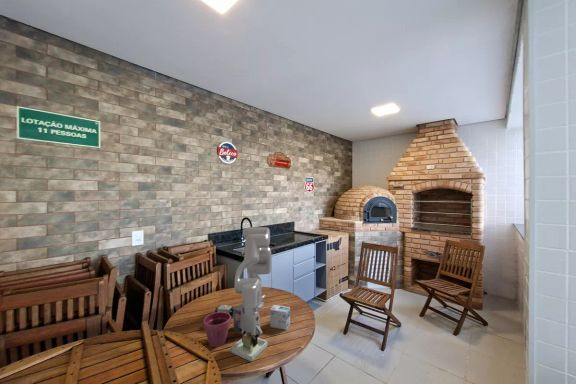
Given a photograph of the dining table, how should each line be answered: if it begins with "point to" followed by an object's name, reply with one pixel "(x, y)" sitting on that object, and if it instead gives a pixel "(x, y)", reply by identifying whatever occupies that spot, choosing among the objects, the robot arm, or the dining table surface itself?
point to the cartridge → (248, 342)
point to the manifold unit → (237, 318)
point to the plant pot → (217, 328)
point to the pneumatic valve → (226, 309)
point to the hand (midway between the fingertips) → (249, 342)
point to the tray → (248, 355)
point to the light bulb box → (280, 317)
